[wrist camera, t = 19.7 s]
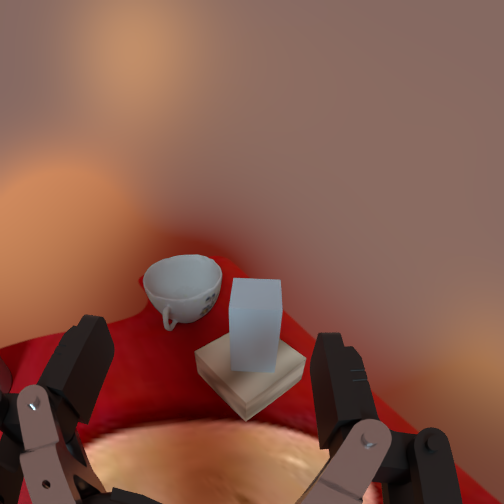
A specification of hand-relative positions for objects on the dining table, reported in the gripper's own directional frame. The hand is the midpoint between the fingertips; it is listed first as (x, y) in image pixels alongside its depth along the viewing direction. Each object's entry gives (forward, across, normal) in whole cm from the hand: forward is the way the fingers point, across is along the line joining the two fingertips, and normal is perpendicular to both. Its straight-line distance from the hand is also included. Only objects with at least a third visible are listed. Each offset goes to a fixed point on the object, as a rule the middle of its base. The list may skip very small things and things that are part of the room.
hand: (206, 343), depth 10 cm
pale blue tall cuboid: (+17, -3, +21) cm, 27 cm away
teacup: (+29, +9, +26) cm, 40 cm away
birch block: (+17, -2, +26) cm, 31 cm away
